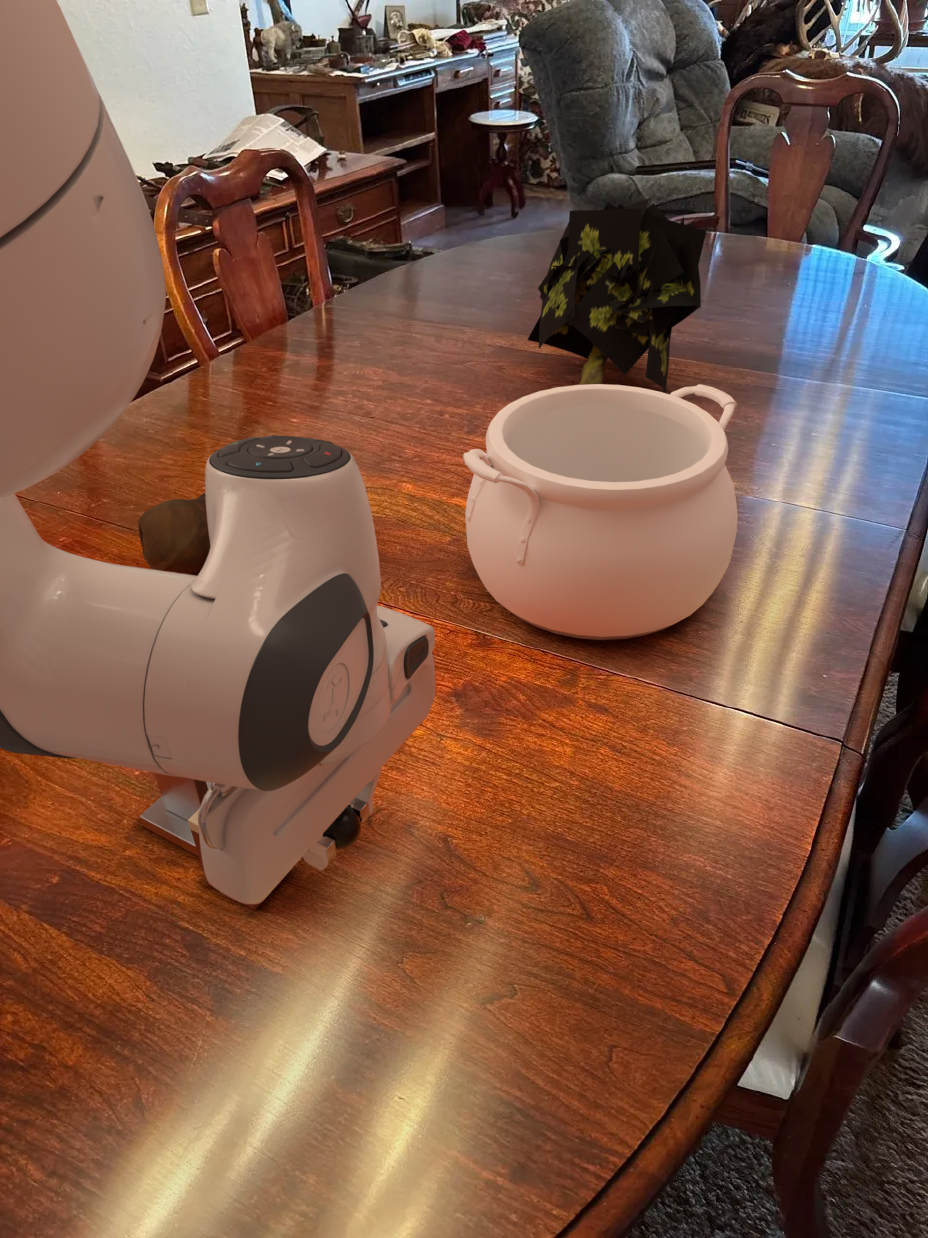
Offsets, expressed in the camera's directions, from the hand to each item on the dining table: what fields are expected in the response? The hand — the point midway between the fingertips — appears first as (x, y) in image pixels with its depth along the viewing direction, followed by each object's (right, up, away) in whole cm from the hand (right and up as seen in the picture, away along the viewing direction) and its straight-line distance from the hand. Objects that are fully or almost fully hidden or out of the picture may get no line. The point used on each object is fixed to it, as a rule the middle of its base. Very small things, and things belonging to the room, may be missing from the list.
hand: (340, 837), depth 64 cm
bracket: (-11, 0, +8) cm, 14 cm away
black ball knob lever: (-6, +4, +1) cm, 7 cm away
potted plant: (+29, +49, +71) cm, 91 cm away
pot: (+22, +19, +32) cm, 43 cm away
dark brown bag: (-14, +22, +36) cm, 45 cm away
